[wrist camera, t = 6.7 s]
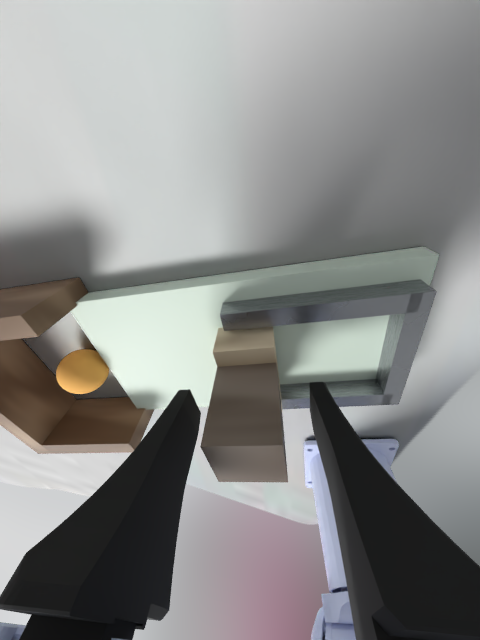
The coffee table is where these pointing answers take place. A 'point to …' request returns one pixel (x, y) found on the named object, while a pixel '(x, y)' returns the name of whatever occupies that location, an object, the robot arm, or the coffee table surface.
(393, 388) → the rail
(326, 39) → the coffee table surface
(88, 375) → the ball
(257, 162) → the coffee table surface
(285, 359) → the plate
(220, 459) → the block
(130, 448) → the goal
